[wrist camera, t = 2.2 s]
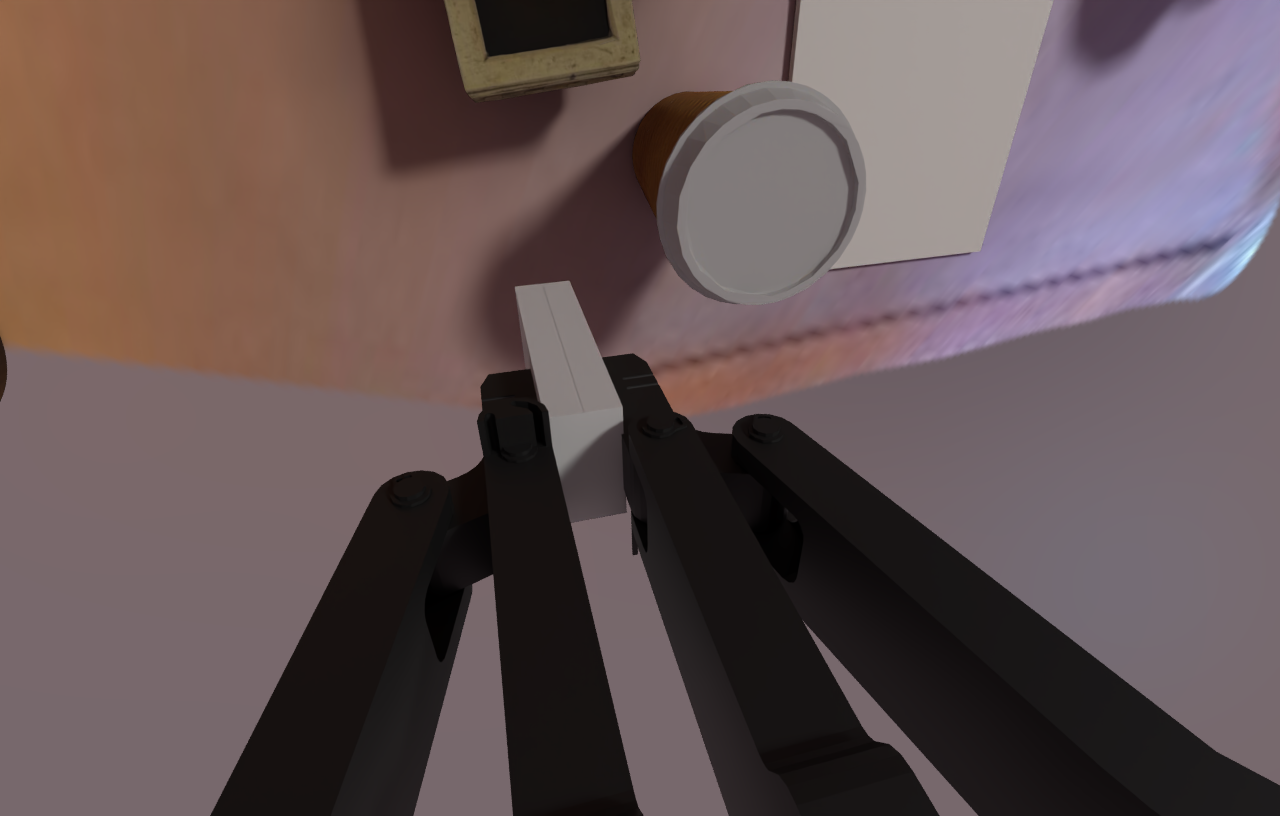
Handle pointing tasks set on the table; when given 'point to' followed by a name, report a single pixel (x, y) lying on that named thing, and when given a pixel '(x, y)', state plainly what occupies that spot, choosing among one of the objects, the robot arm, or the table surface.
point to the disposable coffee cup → (751, 188)
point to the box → (541, 44)
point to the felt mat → (922, 110)
